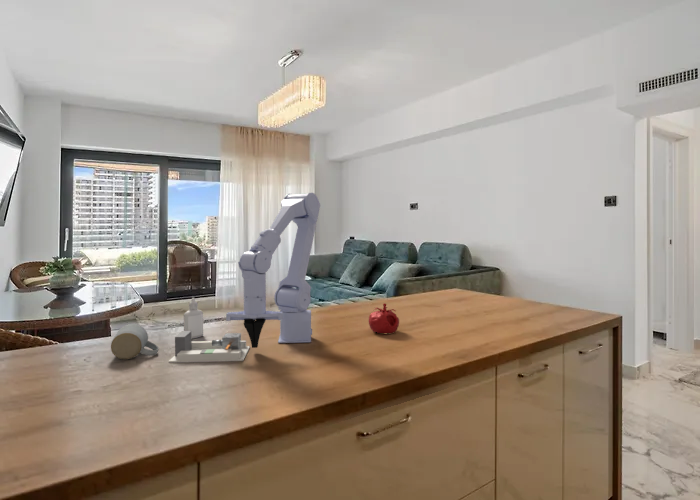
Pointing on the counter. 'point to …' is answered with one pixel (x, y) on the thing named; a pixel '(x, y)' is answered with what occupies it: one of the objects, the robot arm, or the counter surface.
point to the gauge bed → (204, 350)
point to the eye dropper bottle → (194, 320)
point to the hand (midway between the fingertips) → (254, 346)
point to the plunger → (229, 341)
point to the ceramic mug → (132, 342)
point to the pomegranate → (383, 321)
